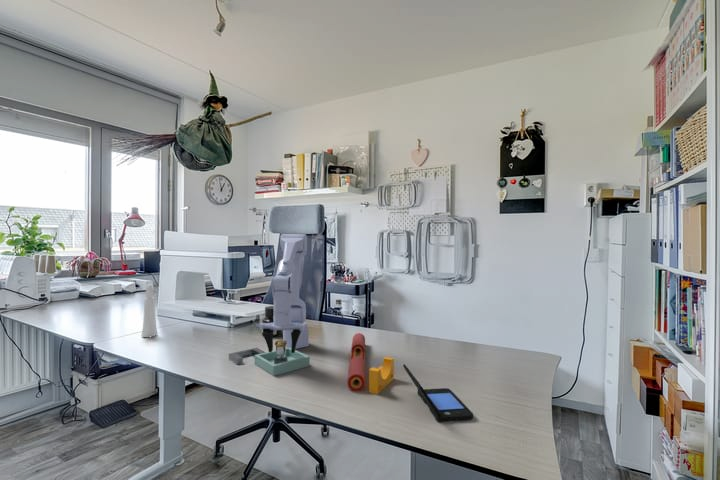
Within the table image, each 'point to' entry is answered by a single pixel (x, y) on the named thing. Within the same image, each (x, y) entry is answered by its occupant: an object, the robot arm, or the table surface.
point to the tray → (293, 363)
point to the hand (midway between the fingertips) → (282, 351)
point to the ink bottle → (271, 319)
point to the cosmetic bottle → (149, 313)
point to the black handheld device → (442, 402)
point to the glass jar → (280, 352)
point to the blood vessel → (357, 363)
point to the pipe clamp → (381, 376)
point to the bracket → (237, 356)
